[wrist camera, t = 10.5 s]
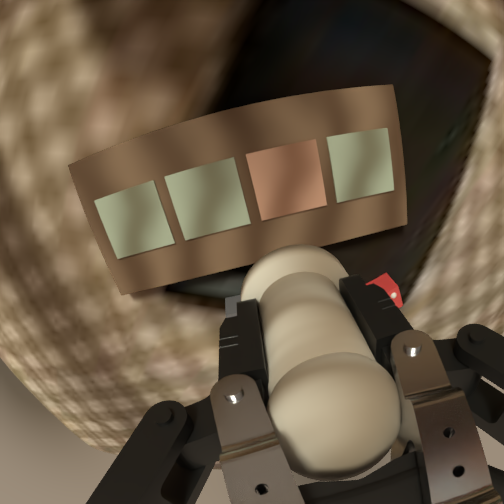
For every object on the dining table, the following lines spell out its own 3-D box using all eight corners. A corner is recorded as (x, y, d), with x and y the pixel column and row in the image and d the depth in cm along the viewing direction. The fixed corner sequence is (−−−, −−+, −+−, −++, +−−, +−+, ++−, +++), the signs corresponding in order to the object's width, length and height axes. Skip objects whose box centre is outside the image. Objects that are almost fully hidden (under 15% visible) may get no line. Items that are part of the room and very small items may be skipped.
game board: (125, 287, 31) (121, 296, 29) (75, 162, 25) (67, 165, 23) (400, 219, 30) (408, 224, 28) (385, 85, 24) (393, 84, 22)
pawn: (253, 344, 13) (271, 512, 6) (228, 259, 11) (230, 458, 4) (348, 321, 13) (417, 472, 6) (342, 233, 11) (461, 391, 4)
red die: (370, 303, 34) (381, 320, 31) (364, 285, 33) (375, 301, 30) (391, 291, 34) (404, 307, 31) (386, 272, 33) (399, 288, 30)
